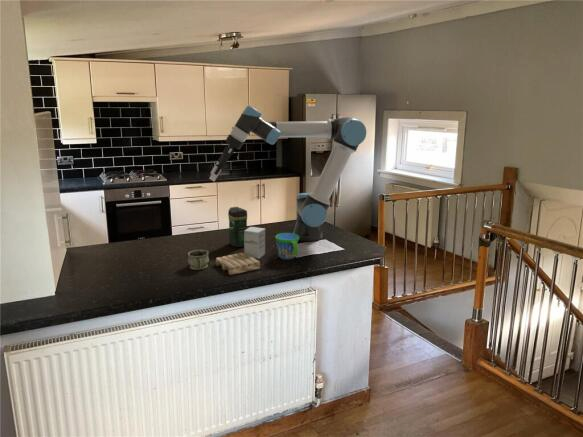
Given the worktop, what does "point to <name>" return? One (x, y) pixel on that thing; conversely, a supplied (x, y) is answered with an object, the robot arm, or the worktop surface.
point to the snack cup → (287, 245)
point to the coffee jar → (237, 226)
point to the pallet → (238, 263)
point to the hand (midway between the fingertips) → (212, 177)
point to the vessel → (198, 259)
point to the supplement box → (254, 242)
